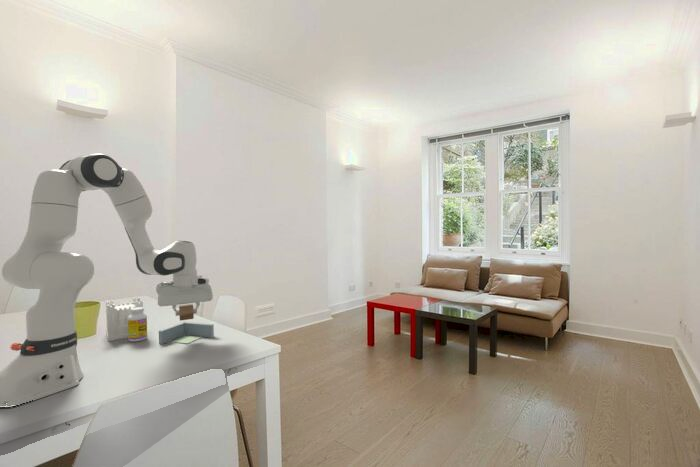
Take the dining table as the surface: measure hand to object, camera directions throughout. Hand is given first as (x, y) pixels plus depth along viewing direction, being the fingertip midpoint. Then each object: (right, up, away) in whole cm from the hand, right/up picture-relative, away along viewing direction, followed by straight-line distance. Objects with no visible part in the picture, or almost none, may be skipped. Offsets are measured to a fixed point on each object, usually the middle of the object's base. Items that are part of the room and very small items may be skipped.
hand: (186, 314), depth 145 cm
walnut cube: (0, -2, 0) cm, 2 cm away
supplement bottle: (-20, -11, +1) cm, 23 cm away
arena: (0, -10, +1) cm, 10 cm away
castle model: (-31, -11, +10) cm, 35 cm away
